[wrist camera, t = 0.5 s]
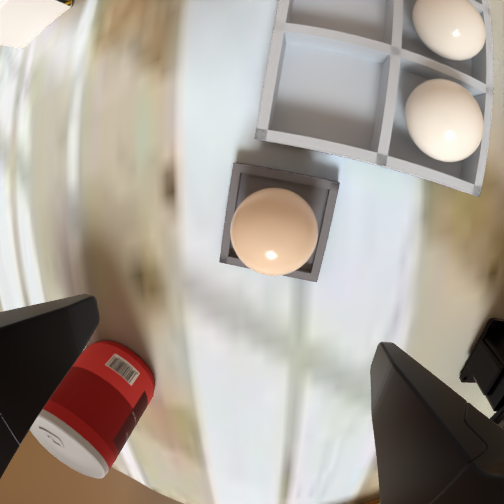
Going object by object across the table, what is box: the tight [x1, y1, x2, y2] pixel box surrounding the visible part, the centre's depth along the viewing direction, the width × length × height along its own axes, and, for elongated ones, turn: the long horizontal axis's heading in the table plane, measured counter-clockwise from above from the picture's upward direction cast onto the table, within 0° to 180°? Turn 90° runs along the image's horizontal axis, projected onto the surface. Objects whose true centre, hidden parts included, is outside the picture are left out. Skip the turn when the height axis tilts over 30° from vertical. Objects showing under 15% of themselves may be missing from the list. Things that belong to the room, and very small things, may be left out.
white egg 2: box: [405, 79, 484, 162], centre depth 13 cm, size 5×5×5 cm
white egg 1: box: [412, 0, 486, 61], centre depth 11 cm, size 5×5×5 cm
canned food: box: [30, 340, 155, 478], centre depth 21 cm, size 8×8×11 cm
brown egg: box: [230, 188, 318, 276], centre depth 17 cm, size 5×5×5 cm
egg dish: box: [220, 163, 340, 282], centre depth 19 cm, size 6×6×1 cm
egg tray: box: [255, 0, 493, 197], centre depth 13 cm, size 14×20×3 cm
